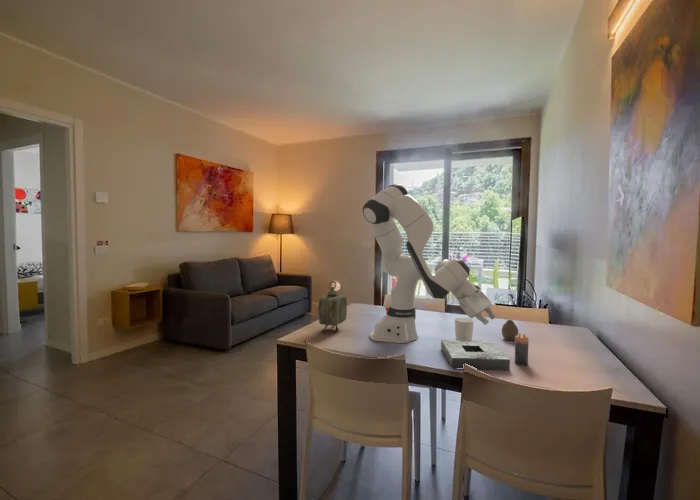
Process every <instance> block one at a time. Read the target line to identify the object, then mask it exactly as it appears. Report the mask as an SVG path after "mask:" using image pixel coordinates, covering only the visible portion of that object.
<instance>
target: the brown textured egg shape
mask: <svg viewBox="0 0 700 500" xmlns="http://www.w3.org/2000/svg"><path fill="white" fill-rule="evenodd" d="M501 335H502V337H503V338H504V340H506V341H513V342H514V341H515V336H516V335H519V328H518V326H517V325H516V323H515V322H514V320H512V319H507V320H506V322H505V323H504V324H503V325H502V328H501Z"/></svg>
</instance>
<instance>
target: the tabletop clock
mask: <svg viewBox="0 0 700 500" xmlns="http://www.w3.org/2000/svg"><path fill="white" fill-rule="evenodd" d="M333 283H334V286H331V285H332V284H333ZM336 287H337V282H336V281H334V280H333V281H330V282H329V285H328V288H329V291H328V292H327V294H325V295H324V294H323V295H322V296H320V298H319V300H318V310H317V311H318V323H319V325H324V328H322V330H321V332H322V333H323V332H324V333H326V329H327V328H328V327H329V326H331V327H333V326H335V331H337V332H339V330H340V329H339V327H338V325H340V324H342V323H344V322H345V321H346V320H347V316H348V315H347V310H348V308H347V305H348V304H347V302H348V301H347V297H345V295H343V294H338V291H337V290H335V289H336Z"/></svg>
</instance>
